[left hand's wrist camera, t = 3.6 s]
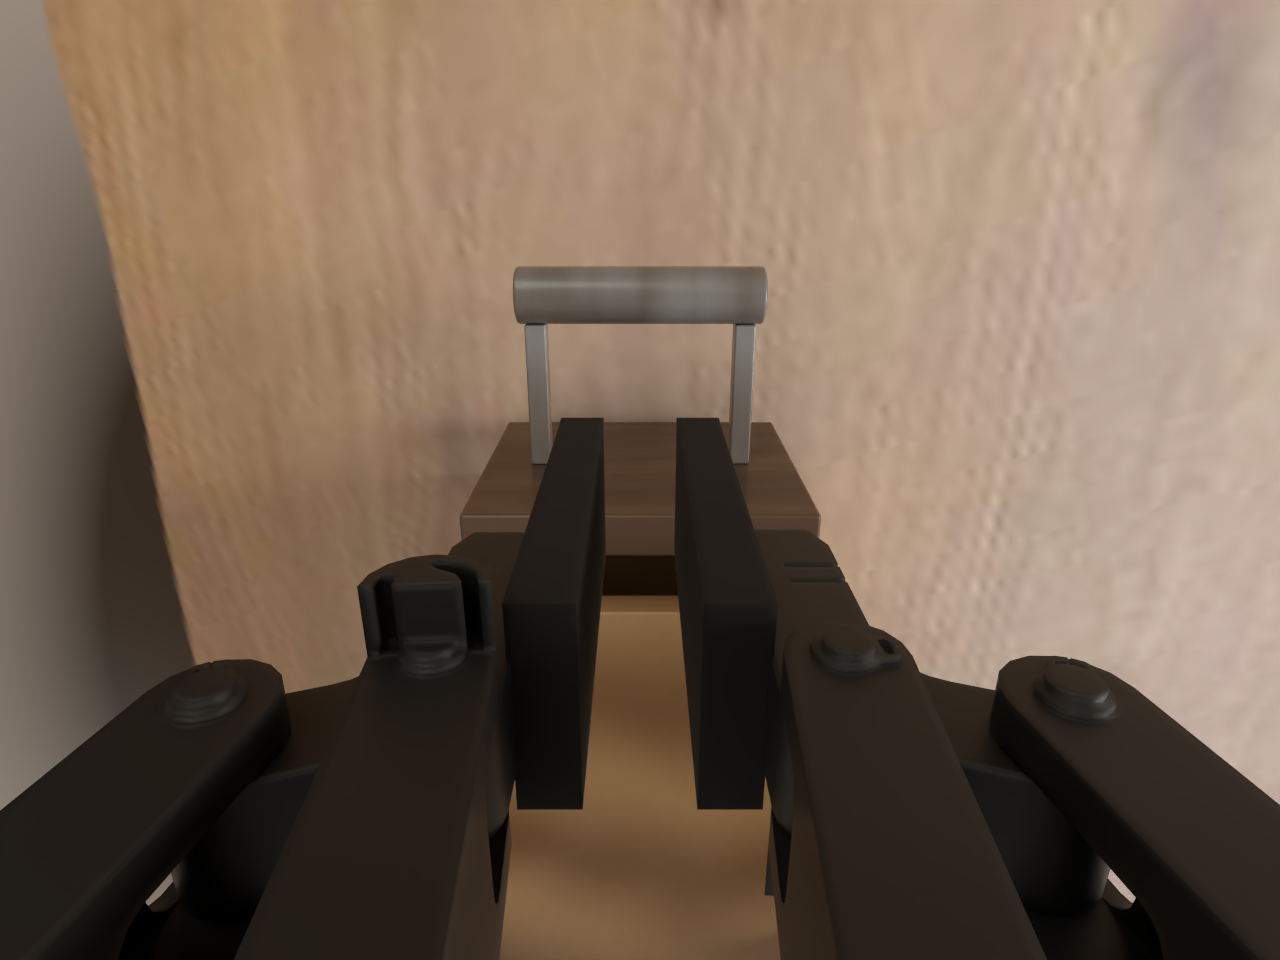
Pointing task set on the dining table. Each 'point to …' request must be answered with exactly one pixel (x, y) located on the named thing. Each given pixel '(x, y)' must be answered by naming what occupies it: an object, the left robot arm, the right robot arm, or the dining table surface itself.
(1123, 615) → the dining table surface
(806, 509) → the drawer
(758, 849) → the cabinet
